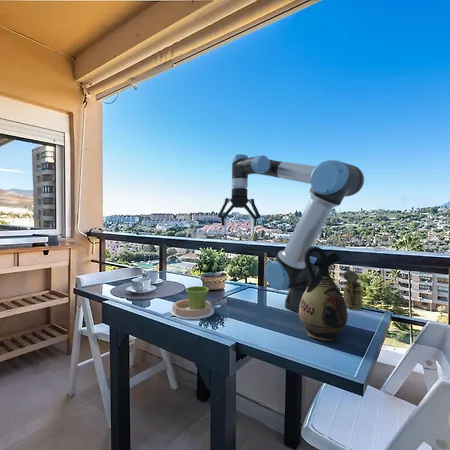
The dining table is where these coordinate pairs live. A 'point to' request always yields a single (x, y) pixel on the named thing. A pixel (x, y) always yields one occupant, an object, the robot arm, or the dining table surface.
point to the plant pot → (197, 296)
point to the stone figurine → (352, 291)
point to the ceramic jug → (322, 299)
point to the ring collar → (191, 310)
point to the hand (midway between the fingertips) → (238, 233)
